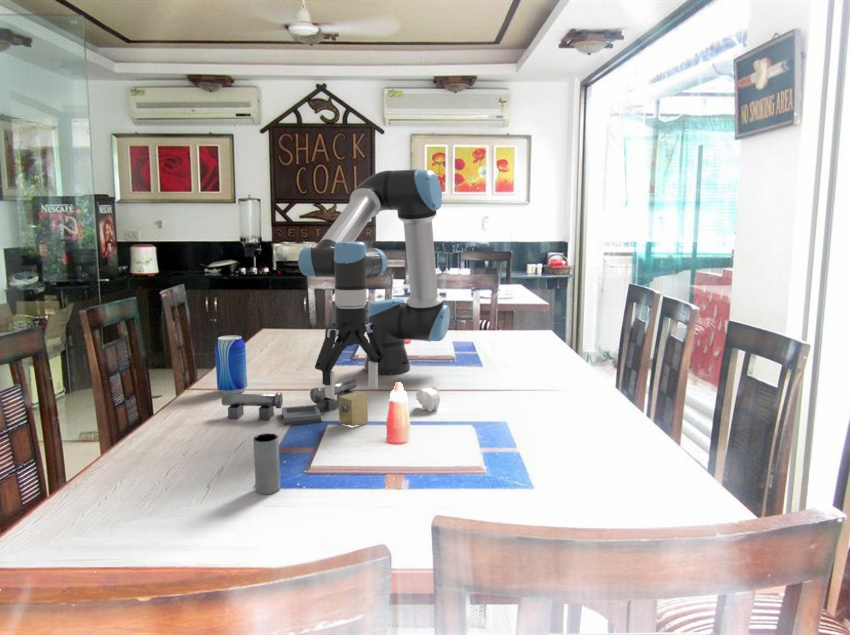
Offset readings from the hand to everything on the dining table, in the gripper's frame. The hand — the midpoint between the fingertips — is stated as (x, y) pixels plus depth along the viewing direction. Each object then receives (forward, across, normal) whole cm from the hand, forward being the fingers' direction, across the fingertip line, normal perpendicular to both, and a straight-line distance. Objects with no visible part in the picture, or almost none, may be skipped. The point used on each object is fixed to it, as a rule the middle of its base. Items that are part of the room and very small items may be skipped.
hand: (352, 392), depth 160 cm
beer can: (+8, +5, -48) cm, 49 cm away
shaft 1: (+8, +14, -23) cm, 28 cm away
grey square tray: (+8, +6, -13) cm, 16 cm away
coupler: (+8, 0, 0) cm, 8 cm away
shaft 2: (+8, -7, -15) cm, 19 cm away
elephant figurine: (+8, -22, +5) cm, 24 cm away
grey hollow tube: (+9, +36, +18) cm, 41 cm away
